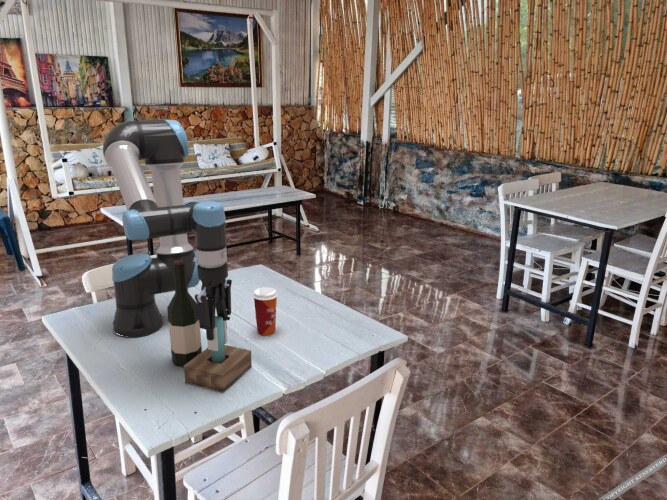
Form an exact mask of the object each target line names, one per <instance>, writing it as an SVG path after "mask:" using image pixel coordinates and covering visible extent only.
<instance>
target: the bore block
mask: <svg viewBox="0 0 667 500" xmlns="http://www.w3.org/2000/svg"><path fill="white" fill-rule="evenodd" d="M225 359H226V360H225V361H224V362H222V363H221V364H219V363H215V362H212V355H211V350H209V349H208V347H206V348H205V349H204V350H202V352H201V353H200V354H199V355H197V356H196V357H195V358H193V359H192V360H191V361H190V362H188V363H187V364H186V365H184V367H183V373H184V382H185V383H186V384H188V385H193V386H196V387H201V388H205V389H209V390H213V391H216V392H220V393H222V394H223V393H225V392H227V390H228V389H229V388H230V387H231V386H232V385H234V384H235V383H236V382H237V381H238V380H239V379H240V378H241V377H242V376H243V375H244V374H245V373H247V371H249V370H250V369H251V367H252V363H253V362H252V350H250V349H245V348H241V347H237V346H231V345H227V344H225Z"/></svg>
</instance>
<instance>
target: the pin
mask: <svg viewBox="0 0 667 500" xmlns="http://www.w3.org/2000/svg"><path fill="white" fill-rule="evenodd" d="M215 327H217V337H218V351H214V350H211V355H212V362H215V363H219V364H221V363H222V362H224V361H225V360H226V359H225V345H226V344H225V343H224V327H223V317H221V316H217V315H215Z"/></svg>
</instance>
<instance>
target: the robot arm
mask: <svg viewBox="0 0 667 500" xmlns="http://www.w3.org/2000/svg"><path fill="white" fill-rule="evenodd" d="M189 148H190V146H189V140H188V137H187V134H186V131H185V128H184V127H183V125H182V123H180V122H179V121H178V120H175V119H148V120H126V121H125V120H124V121H122V122H120V123H118V124H117V125H114V126H113V128H111V130H110V131H109V132H108V133H107V134H106V137H105V138H104V140H103V145H102V153H103V157H104V161H105V162H106V164H107V165H108V166H109V167H110V168H112V171H113V173H114V177H115V180H116V183H117V185H118V189H119V191H120V194H121V197H122V199H123V202H124V205H125V208H126V210H125V211H124V212H123V213H122V227H123V231H124V235H125V237H126V238H127V240H129V241H140V240H143V241H145V240H146V241H147V240H150V239H156V238H159V245H160V246H159V247H158V248H157V250H156V251H155V253H156V257H151V256H150V255H149V253H135V254H130V255H126V256H123V257H121V258H120V259H118V260H117V261H115V262H114V264H113V265H112V267H111V269H112V270H111V274H112V277H111V278H112V282H113V290H114V298H115V306H116V309H115V312H114V318H113V322H112V329H113V330H114V331H115V332H116V333H118V334H120V335H123V336H128V337H127V338H141V337H146V336H148V335H151V334H154V333H156V332H158V331H159V330H161V328H162V327H163V325H164V319H163V316H162V314H161V312H160V309H159V308H158V305H157V303H156V297H155V295H159V294H164V293H165V294H166V293H171V292H175V285H174V274H173V264H174V261H175V260H183V261H184V263H186V273H187V285H188V289H191V288H195V287H196V286H198V285H199V283H200V282H201V288H200V289H201V291H200V293H198V294H197V293H196V294H195V295H194V300H195V302H196V303H197V307H198V316H199V324H200V330H201V329H202V330H205V332H206V333H205V334H206V335H205V336H206V340H207V348H208V349H209V350H214V351H218V337H217V327H215V316H221V317H223V327H224V343H225V345H227V344H228V334H227V329H228V327H227V326H228V325H227V321H230V319H231V314H232V290H231V289H232V283H233V280H232V279H230V278H229V279H228V277H229V268H228V266H229V265H228V263H227V261H228V256H227V255H228V254H227V235H226V231H227V229H226V215H225V213H226V212H225V207H224V205H223V204H222V203H221V202H217V201H209V200H207V201H201V202H200V201H196V200H189V201H186V202H184V197H183V196H184V195H183V189H182V188H183V187H182V185H183V184H182V178H181V177H182V176H181V167H182V166H183V165H184V164H185V159H186V158H188V157H189V153H190V152H189V151H190V150H189ZM140 160H142V161H143V160H144V165H145V167H147V169H149V170H150V173H151V179H152V187H153V190H152V187H151V186H150V183H149V181H148V179H147V176H146V174H145V171H144V170H143V167H142V163H141V162H140ZM188 234H194V241H195V250H194V246H192V244H190V243H189V240H188ZM114 331H113V332H114ZM140 336H141V337H140Z"/></svg>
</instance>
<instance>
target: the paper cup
mask: <svg viewBox="0 0 667 500" xmlns="http://www.w3.org/2000/svg"><path fill="white" fill-rule="evenodd" d="M278 295H279V294H278V293H277V289H275V288H273V287H265V286H264V287H259V288H256V289H255V290H254V292H253V294H252V297H253V303H254V309H255V311H254V312H255V321H256V322H255V323H256V330H257V334H258V335H260V336H263V337H264V336H265V337H269V336H272V335H275V334H276V325H277V324H276V323H277V322H276V321H277V297H278Z"/></svg>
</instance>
